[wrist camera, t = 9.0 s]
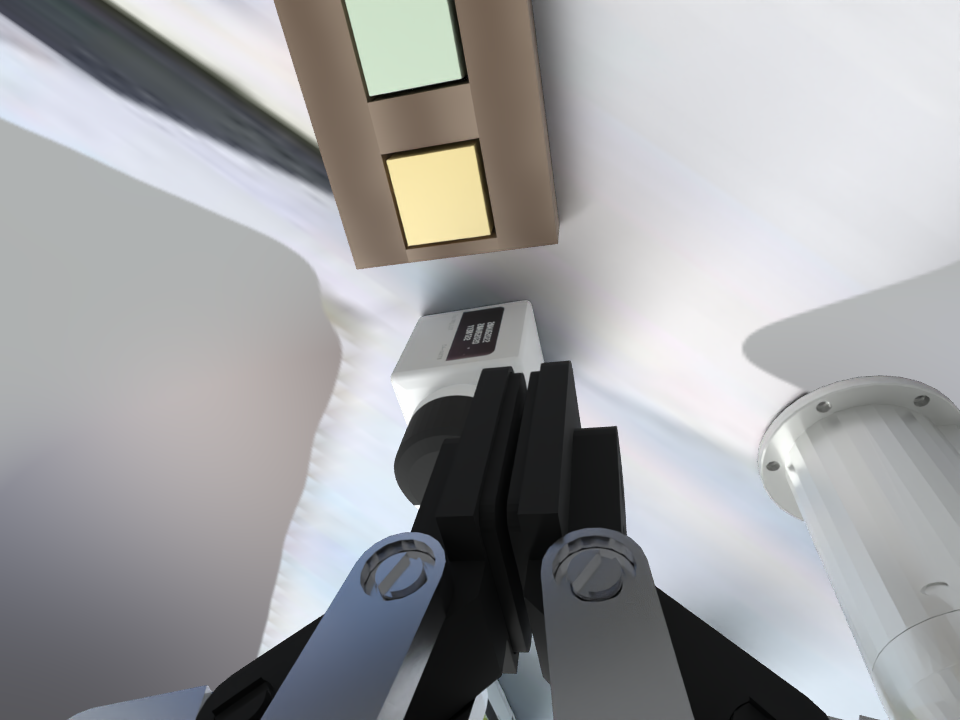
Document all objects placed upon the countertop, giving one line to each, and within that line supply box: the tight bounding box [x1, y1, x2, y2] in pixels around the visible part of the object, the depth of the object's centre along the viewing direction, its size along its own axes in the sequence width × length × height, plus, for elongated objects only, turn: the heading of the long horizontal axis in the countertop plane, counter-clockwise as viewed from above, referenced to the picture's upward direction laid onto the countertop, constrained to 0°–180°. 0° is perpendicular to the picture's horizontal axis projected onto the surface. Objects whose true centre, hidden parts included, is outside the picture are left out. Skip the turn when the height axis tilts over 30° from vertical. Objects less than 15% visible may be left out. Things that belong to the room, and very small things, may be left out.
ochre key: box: [386, 138, 494, 246], centre depth 34 cm, size 5×5×3 cm
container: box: [391, 300, 544, 509], centre depth 36 cm, size 8×8×13 cm
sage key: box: [345, 0, 468, 96], centre depth 30 cm, size 5×5×3 cm
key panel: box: [274, 0, 559, 269], centre depth 30 cm, size 12×23×3 cm, turn 11°
